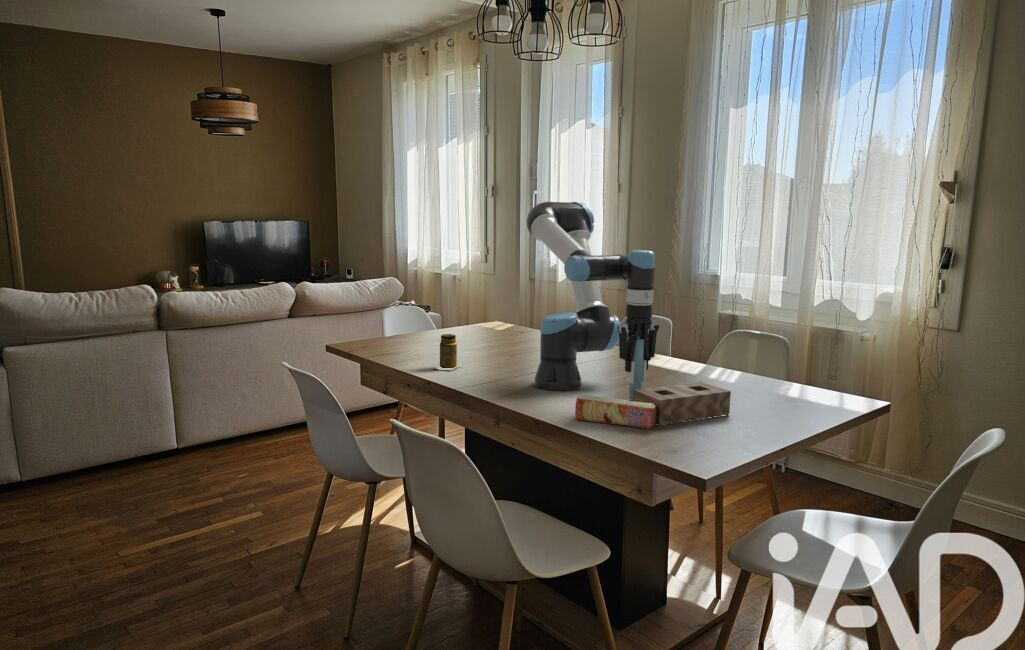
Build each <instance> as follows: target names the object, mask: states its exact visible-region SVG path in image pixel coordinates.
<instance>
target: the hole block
mask: <svg viewBox="0 0 1025 650" xmlns="http://www.w3.org/2000/svg"><path fill="white" fill-rule="evenodd" d="M731 392H732V391H731V390H727V389H725V388H721V387H719V386H715V385H712V384H709V383H706V382H703V381H697V382H696V381H695V382H688V383H678V384H669V385H662V386H655V387H654V386H652V387H645V388H643V387H642V389H635V390H633V400H632V401H635V402H643V403H652V404H655V406H656V409H657V420H656V424H658V425H663V426H666V425H665V424H670V425H672V424H671V423H677V422H683V421H689V420H697V419H702V418H708V417H714V416H721V415H728V414H729V415H730V409H731V407H730V406H731ZM697 421H698V420H697ZM656 424H655V425H656ZM677 424H678V423H677ZM658 425H657V426H658Z"/></svg>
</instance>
